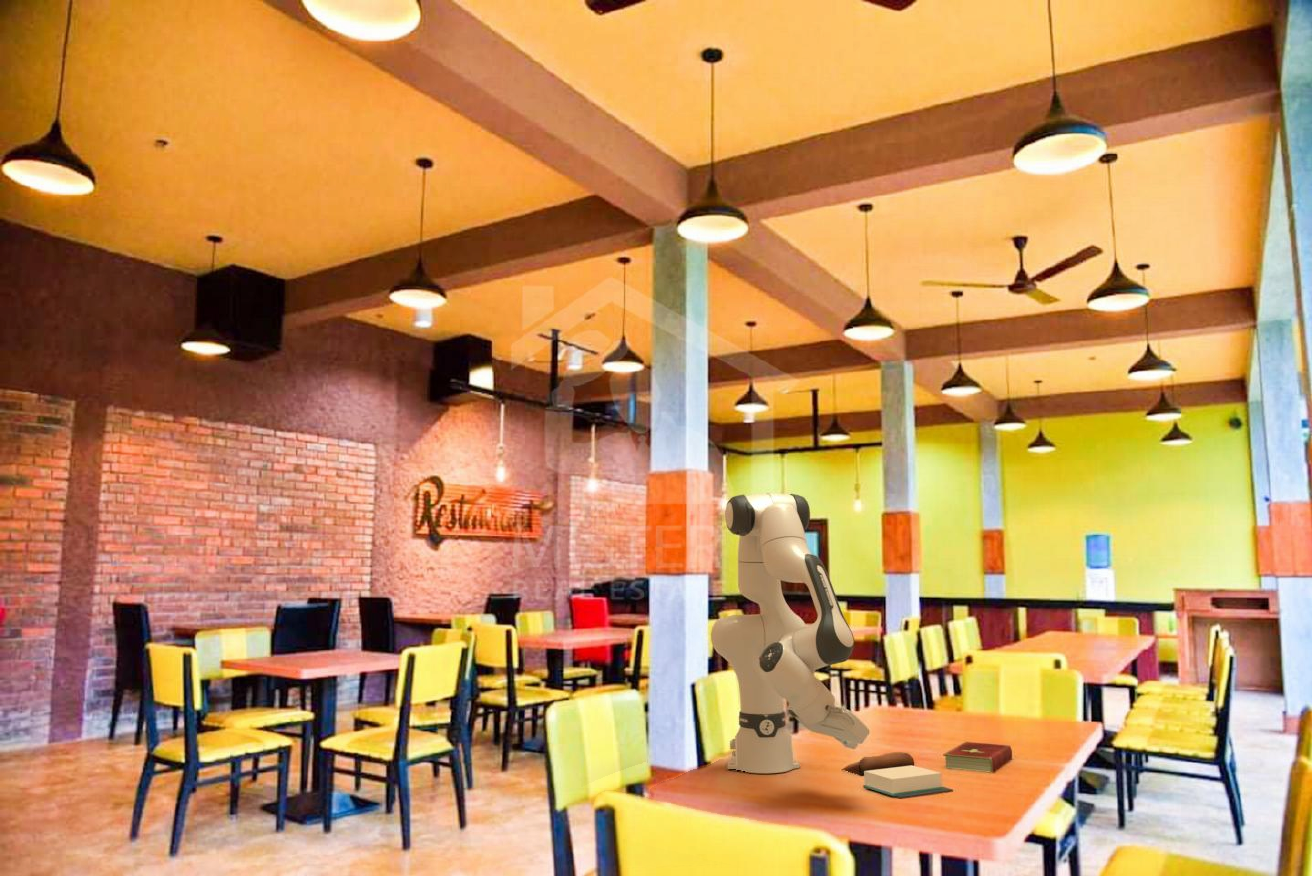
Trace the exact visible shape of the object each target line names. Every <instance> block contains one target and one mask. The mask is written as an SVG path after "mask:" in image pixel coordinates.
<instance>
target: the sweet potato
mask: <svg viewBox="0 0 1312 876" xmlns="http://www.w3.org/2000/svg"><path fill="white" fill-rule="evenodd" d="M914 760H915V759H914V758H913V756H912V755H911V754H910V753H908V752H901V751H896V752H895V751H894V752H888V753H883V754H881V755H873V756H864V757H862V758H861V759H860V760H859V761H857V762H853V763H851V764H848V765H846V766H845V767H843V768H841V771H842V770H845V771H848V772H847V773H849V772H850V774H853V773H854V775H856V774H857V775H858V776H860V777H861V776H862V775H864V771H869V770H878V769H886V768H894V767H903V766H911V765H912V766H915V761H914ZM845 771H844V772H845ZM857 775H856V776H857Z"/></svg>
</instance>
